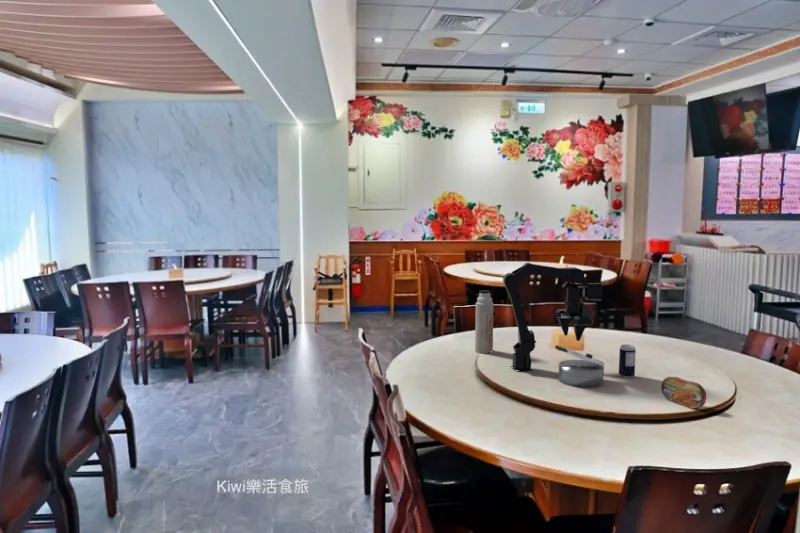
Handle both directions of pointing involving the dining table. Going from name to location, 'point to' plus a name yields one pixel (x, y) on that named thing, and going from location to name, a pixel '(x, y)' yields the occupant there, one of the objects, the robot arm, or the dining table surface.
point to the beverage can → (627, 361)
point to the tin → (683, 392)
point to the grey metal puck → (581, 373)
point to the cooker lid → (581, 355)
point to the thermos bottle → (484, 323)
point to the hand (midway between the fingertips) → (571, 338)
